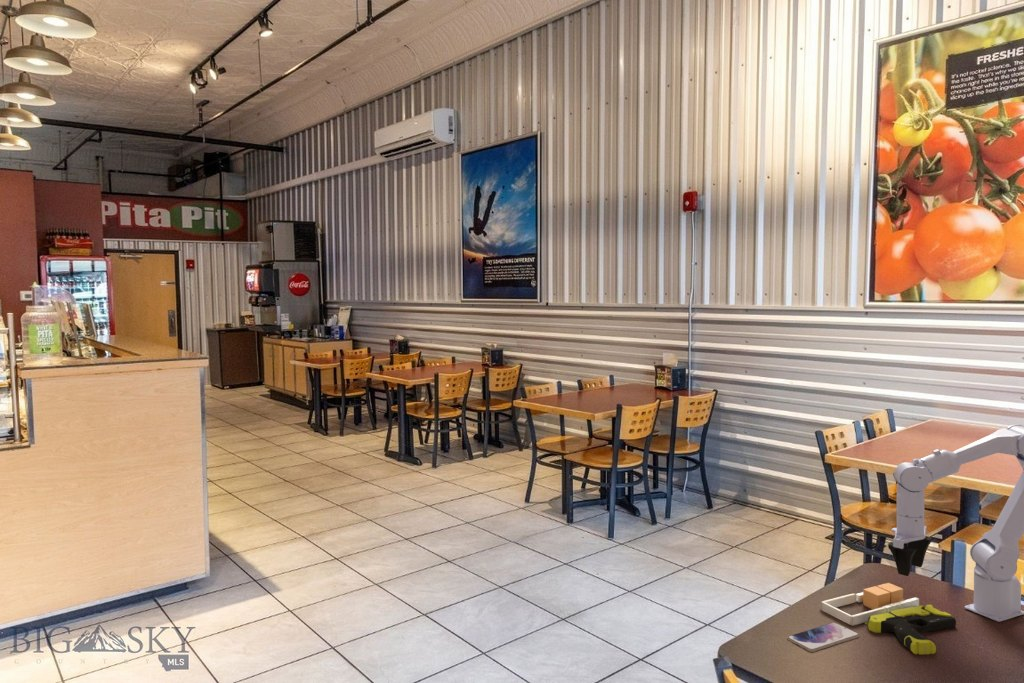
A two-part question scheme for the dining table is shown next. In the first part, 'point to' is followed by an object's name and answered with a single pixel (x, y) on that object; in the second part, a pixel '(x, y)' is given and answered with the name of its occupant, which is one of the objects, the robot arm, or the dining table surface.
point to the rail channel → (895, 606)
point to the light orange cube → (893, 592)
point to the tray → (831, 609)
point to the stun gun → (912, 626)
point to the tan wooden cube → (875, 597)
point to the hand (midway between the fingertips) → (910, 570)
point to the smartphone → (822, 637)
